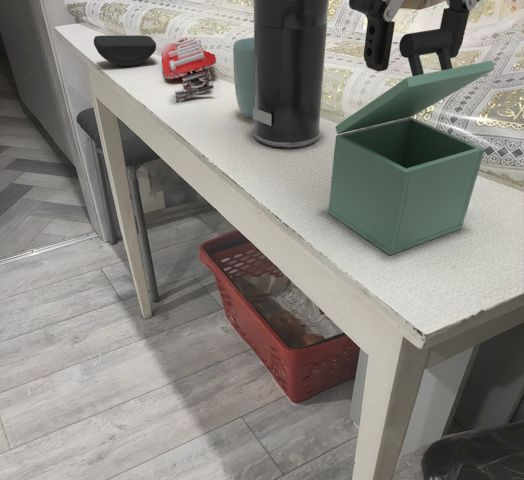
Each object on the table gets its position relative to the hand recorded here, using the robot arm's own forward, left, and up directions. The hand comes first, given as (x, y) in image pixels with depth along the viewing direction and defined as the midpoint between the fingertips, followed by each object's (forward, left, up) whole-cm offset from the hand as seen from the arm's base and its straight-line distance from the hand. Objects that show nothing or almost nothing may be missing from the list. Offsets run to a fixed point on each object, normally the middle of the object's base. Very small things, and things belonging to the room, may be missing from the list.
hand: (412, 62), depth 47 cm
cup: (-31, -15, -15) cm, 38 cm away
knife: (-50, -31, -15) cm, 60 cm away
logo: (-51, -24, -11) cm, 57 cm away
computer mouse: (-59, -43, -11) cm, 74 cm away
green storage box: (+1, +1, -15) cm, 15 cm away
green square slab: (+1, 0, -3) cm, 3 cm away
